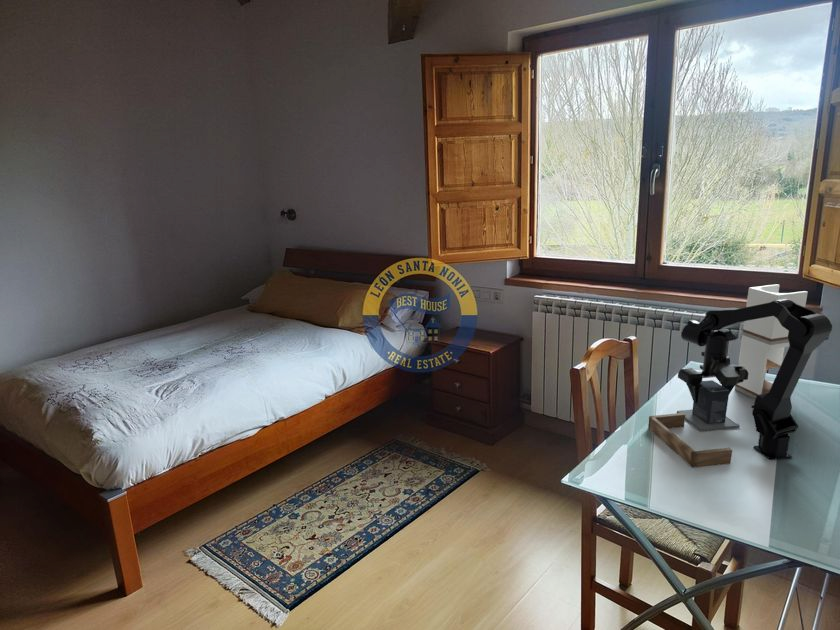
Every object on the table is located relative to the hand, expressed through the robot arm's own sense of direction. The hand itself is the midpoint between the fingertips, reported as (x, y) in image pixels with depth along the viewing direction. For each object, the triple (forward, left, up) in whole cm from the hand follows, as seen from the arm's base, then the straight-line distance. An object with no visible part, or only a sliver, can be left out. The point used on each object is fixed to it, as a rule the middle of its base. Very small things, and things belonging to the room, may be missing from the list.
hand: (709, 401), depth 165 cm
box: (0, 0, -6) cm, 6 cm away
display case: (+14, -29, -6) cm, 33 cm away
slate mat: (0, 0, -6) cm, 6 cm away
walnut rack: (-12, +14, -6) cm, 19 cm away
